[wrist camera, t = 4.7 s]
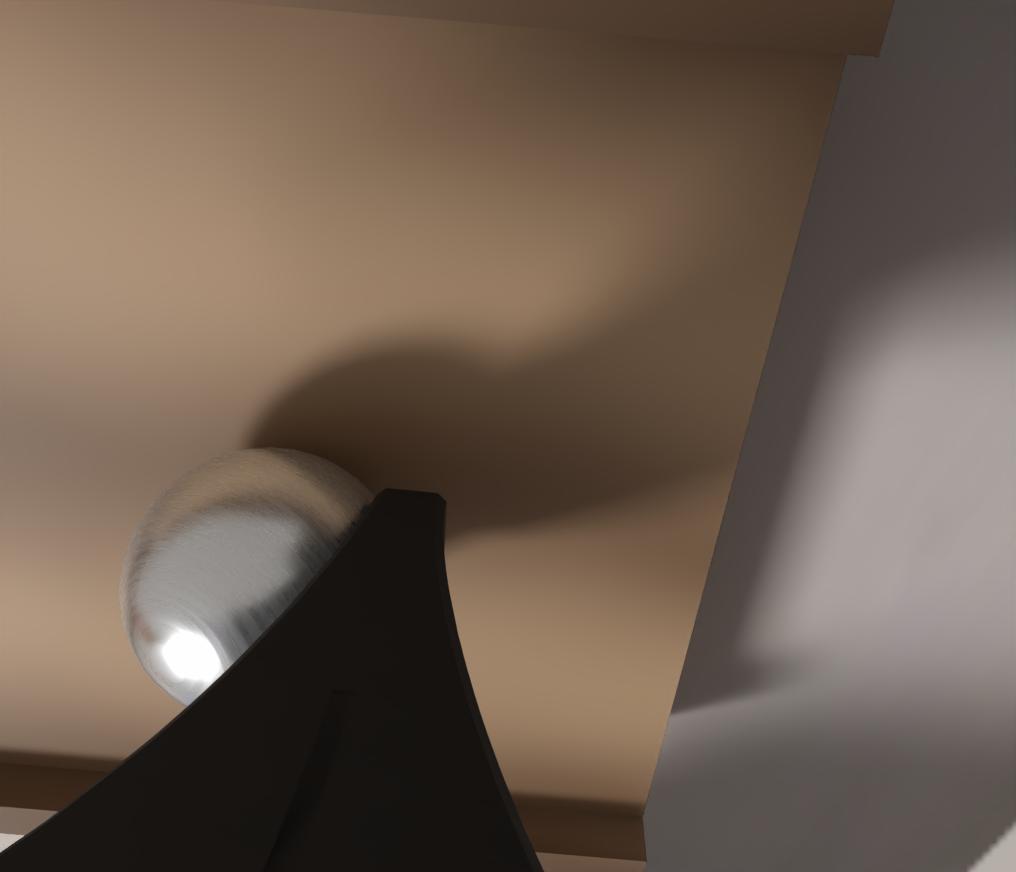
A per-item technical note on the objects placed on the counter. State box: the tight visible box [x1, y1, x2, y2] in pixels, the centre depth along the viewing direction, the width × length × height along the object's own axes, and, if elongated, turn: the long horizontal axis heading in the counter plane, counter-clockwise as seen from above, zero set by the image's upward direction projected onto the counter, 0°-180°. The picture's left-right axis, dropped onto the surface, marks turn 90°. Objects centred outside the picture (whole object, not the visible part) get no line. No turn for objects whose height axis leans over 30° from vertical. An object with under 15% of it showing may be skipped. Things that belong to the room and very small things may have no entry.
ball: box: [119, 447, 375, 707], centre depth 10 cm, size 3×3×3 cm
